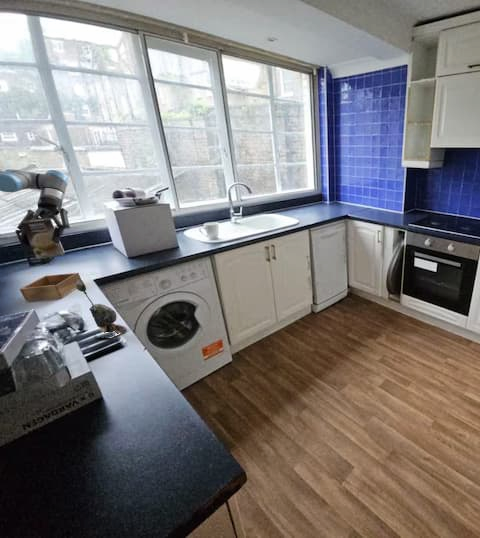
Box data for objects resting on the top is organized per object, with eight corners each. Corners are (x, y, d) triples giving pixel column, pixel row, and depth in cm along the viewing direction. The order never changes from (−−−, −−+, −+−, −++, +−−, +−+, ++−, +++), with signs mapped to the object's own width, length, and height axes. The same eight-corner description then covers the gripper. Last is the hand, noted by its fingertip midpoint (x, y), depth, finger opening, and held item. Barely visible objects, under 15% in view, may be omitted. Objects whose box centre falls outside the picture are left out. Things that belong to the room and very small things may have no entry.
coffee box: (36, 259, 127) (19, 223, 121) (37, 256, 132) (20, 221, 125) (65, 254, 133) (50, 219, 127) (64, 251, 137) (50, 217, 131)
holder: (48, 258, 167) (35, 224, 159) (60, 259, 166) (47, 225, 158) (26, 265, 157) (10, 229, 149) (38, 267, 156) (23, 231, 148)
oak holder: (26, 302, 118) (19, 289, 116) (50, 287, 131) (45, 275, 128) (62, 298, 121) (56, 285, 118) (83, 284, 133) (78, 272, 131)
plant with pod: (98, 347, 89) (72, 289, 82) (93, 333, 97) (68, 278, 89) (130, 335, 95) (108, 279, 87) (123, 322, 102) (102, 270, 94)
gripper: (85, 204, 141) (77, 244, 133) (28, 207, 136) (15, 249, 128) (74, 194, 134) (64, 236, 126) (13, 197, 130) (-1, 240, 122)
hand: (39, 242), depth 127 cm, fingers closed on coffee box, 11 cm apart
